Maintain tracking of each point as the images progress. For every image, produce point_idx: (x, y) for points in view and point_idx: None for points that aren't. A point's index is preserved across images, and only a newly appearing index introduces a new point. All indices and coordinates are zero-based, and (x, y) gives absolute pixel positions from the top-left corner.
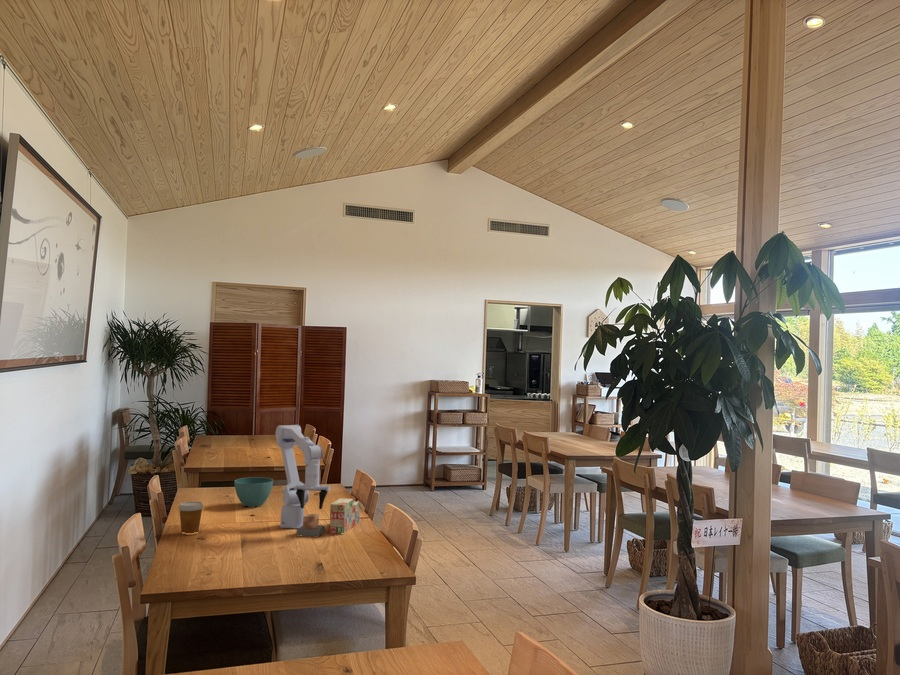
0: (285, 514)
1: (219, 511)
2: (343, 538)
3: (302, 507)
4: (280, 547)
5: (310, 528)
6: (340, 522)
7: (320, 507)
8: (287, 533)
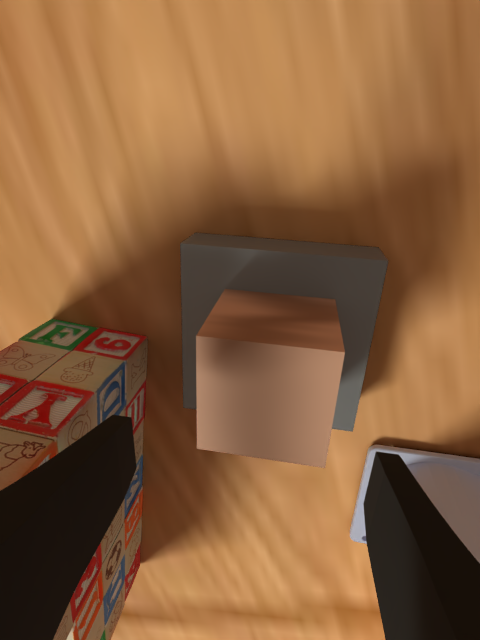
0: None
1: None
2: (4, 200)
3: (379, 460)
4: None
5: (264, 294)
6: (21, 361)
7: (101, 423)
8: (468, 321)
